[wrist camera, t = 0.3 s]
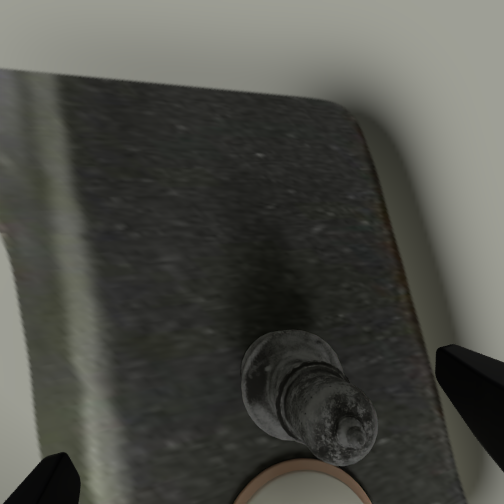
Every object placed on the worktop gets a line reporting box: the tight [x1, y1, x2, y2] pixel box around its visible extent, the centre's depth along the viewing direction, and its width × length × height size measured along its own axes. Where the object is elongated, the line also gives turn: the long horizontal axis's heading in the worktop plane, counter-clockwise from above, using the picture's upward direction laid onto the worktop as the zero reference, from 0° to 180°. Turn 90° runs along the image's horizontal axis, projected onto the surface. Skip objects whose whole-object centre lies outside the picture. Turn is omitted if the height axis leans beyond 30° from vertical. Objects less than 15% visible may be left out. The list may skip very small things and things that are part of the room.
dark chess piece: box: [240, 329, 378, 466], centre depth 17 cm, size 6×6×12 cm
